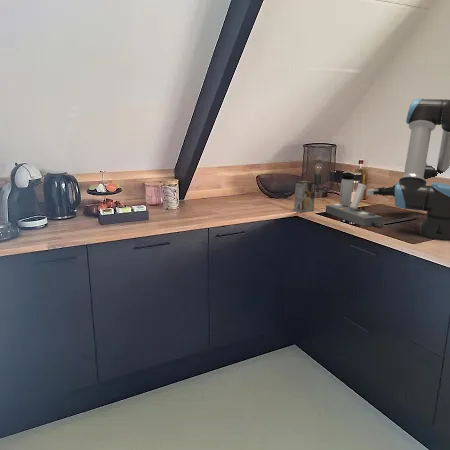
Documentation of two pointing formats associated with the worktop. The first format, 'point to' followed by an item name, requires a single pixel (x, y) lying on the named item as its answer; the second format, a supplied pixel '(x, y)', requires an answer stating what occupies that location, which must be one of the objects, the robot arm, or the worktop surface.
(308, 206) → the coffee box
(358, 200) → the middle rocker lever
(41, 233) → the worktop surface
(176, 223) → the worktop surface
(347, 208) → the power strip
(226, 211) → the worktop surface
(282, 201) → the worktop surface
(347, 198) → the travel mug
